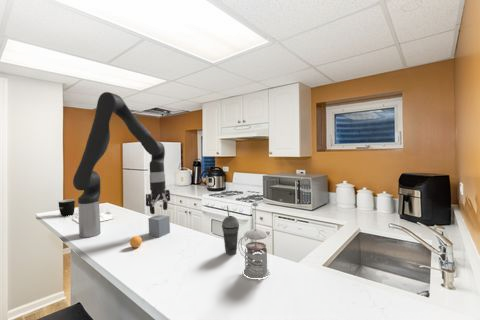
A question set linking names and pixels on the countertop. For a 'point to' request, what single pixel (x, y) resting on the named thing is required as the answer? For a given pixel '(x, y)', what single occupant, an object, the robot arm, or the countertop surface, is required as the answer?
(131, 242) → the ball
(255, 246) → the french press
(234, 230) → the beverage cup
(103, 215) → the tray
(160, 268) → the countertop surface
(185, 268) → the countertop surface
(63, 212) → the mug
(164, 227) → the grey square block
